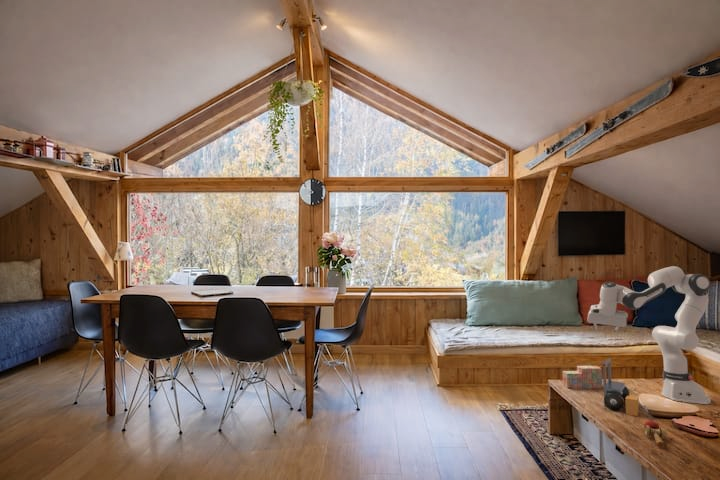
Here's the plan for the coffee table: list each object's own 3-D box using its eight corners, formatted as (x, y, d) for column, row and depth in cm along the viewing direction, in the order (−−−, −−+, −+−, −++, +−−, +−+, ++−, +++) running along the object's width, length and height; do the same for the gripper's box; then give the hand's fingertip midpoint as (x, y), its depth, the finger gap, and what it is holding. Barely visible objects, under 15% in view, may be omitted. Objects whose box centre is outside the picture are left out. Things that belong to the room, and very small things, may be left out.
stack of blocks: (567, 389, 269) (566, 368, 269) (562, 385, 275) (562, 366, 275) (602, 388, 269) (601, 368, 269) (597, 385, 275) (596, 365, 275)
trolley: (630, 401, 245) (628, 359, 246) (623, 412, 229) (621, 367, 230) (610, 397, 252) (609, 356, 252) (602, 408, 235) (601, 364, 236)
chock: (638, 412, 229) (638, 397, 229) (637, 415, 225) (636, 400, 225) (627, 410, 232) (627, 395, 232) (626, 413, 228) (625, 398, 228)
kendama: (673, 452, 188) (661, 430, 205) (670, 438, 188) (658, 417, 204) (653, 453, 191) (642, 430, 208) (650, 439, 190) (639, 418, 207)
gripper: (627, 309, 256) (625, 331, 260) (588, 305, 265) (586, 326, 269) (628, 313, 251) (626, 335, 254) (588, 309, 260) (586, 330, 263)
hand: (605, 330), depth 262 cm, fingers open, 8 cm apart
